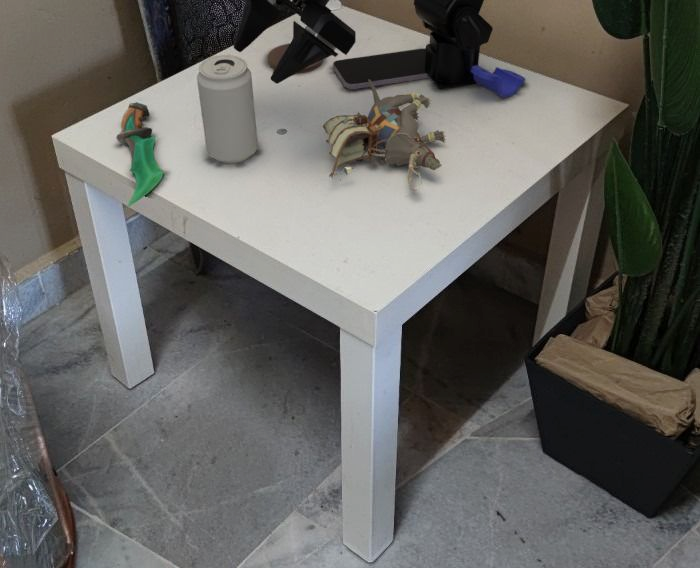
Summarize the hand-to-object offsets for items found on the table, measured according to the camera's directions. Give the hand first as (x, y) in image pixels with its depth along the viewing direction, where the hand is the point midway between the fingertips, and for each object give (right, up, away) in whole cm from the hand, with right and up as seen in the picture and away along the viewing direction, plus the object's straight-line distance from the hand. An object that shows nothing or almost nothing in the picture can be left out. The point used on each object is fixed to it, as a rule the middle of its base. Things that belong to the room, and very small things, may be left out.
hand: (254, 65), depth 109 cm
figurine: (+15, -10, +5) cm, 19 cm away
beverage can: (-3, -10, +6) cm, 12 cm away
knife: (-12, -9, +5) cm, 16 cm away
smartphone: (+17, +4, +21) cm, 27 cm away
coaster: (+3, +6, +23) cm, 24 cm away
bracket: (+32, +3, +15) cm, 35 cm away
